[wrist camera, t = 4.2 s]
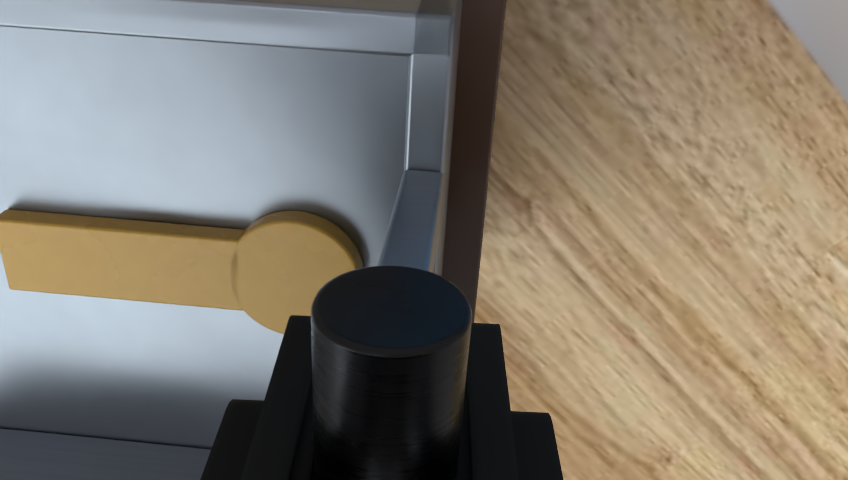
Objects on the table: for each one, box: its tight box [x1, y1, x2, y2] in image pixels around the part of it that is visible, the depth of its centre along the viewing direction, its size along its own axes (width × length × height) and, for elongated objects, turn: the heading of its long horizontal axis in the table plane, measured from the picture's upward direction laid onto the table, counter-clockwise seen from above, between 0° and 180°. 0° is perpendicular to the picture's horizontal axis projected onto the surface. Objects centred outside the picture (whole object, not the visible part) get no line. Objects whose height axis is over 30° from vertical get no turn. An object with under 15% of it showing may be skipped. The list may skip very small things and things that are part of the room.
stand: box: [442, 0, 506, 323], centre depth 21 cm, size 12×12×11 cm
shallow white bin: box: [0, 0, 472, 480], centre depth 12 cm, size 12×11×8 cm
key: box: [0, 209, 364, 334], centre depth 15 cm, size 3×7×1 cm, turn 87°
